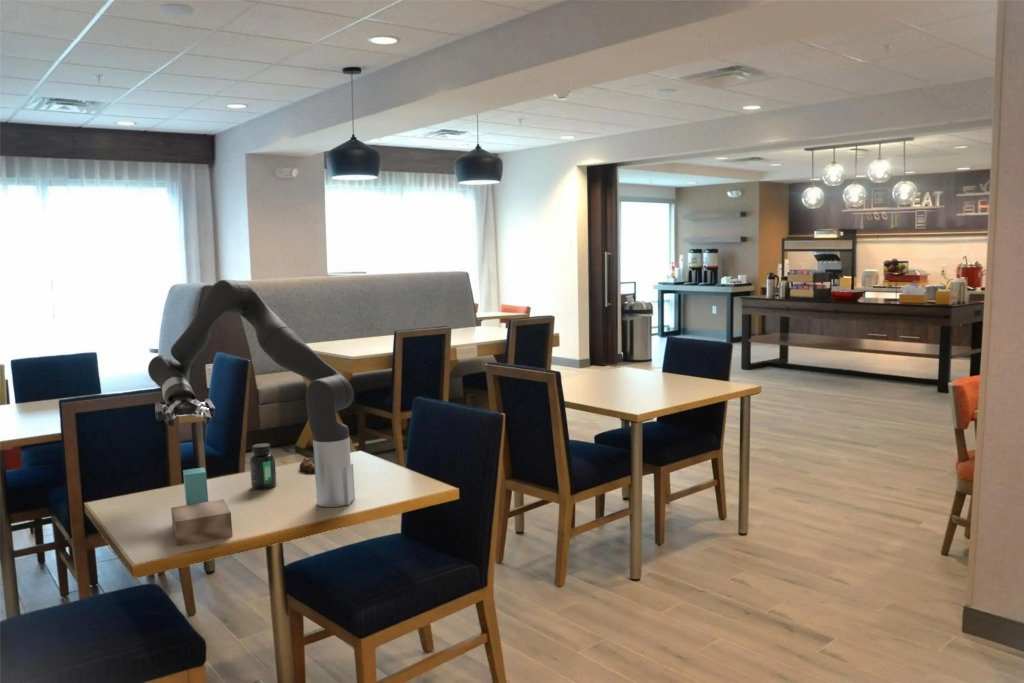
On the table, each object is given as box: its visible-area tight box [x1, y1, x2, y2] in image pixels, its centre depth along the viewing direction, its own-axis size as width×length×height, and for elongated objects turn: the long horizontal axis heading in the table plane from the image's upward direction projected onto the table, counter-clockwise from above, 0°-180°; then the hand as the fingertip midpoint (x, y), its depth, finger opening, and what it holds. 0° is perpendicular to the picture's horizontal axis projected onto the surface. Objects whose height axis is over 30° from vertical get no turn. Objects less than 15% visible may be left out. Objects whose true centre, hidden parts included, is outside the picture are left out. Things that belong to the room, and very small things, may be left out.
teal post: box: [182, 466, 209, 505], centre depth 202 cm, size 5×5×12 cm
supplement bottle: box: [249, 442, 277, 491], centre depth 227 cm, size 7×7×12 cm
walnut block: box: [170, 498, 234, 547], centre depth 191 cm, size 12×12×6 cm
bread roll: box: [299, 454, 315, 474], centre depth 245 cm, size 11×11×5 cm
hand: (190, 422), depth 206 cm, fingers open, 8 cm apart
